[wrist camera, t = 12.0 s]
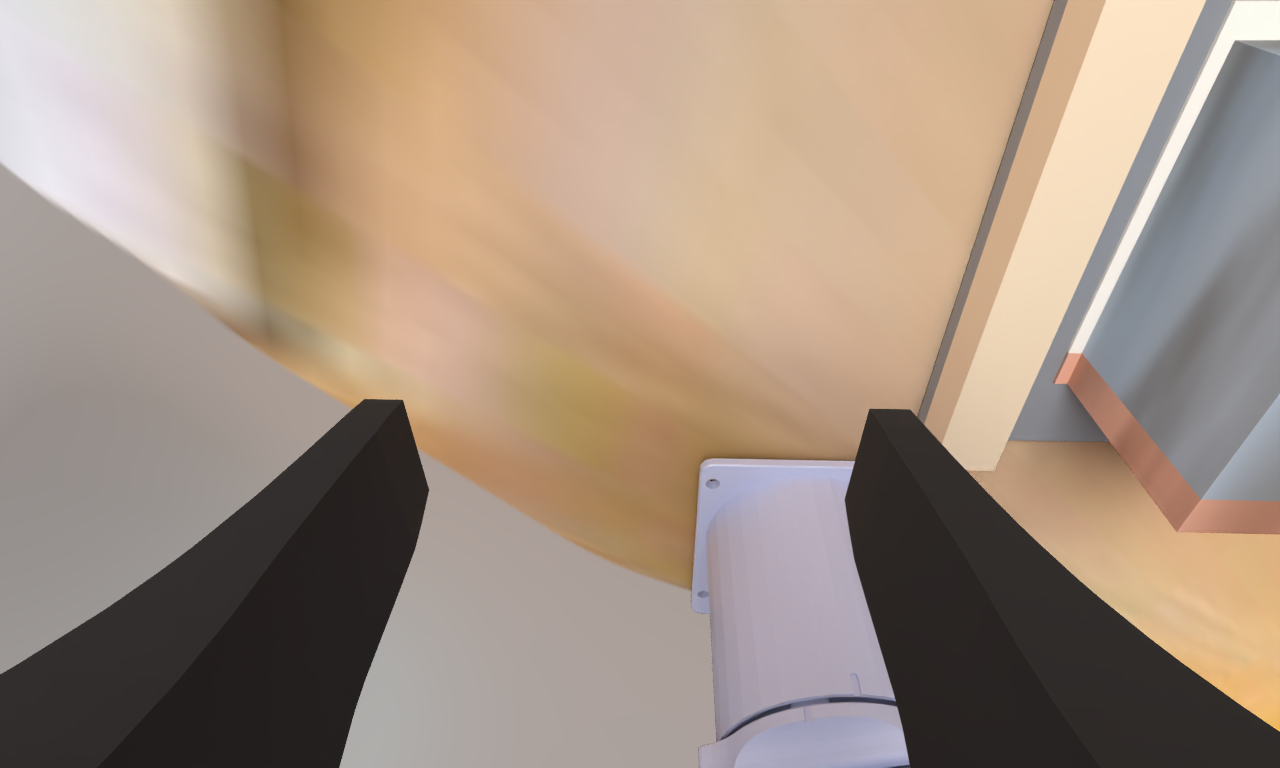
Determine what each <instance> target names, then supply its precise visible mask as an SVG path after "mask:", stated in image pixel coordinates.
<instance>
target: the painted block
mask: <svg viewBox="0 0 1280 768" xmlns="http://www.w3.org/2000/svg"><path fill="white" fill-rule="evenodd" d="M1067 384H1068V386H1069V387H1070V388H1071V390H1072V391H1073V392H1074V394H1075V395H1076V396H1077V398H1078V399H1079V400H1080V402H1081V403H1082V404H1083V406H1084V407H1085V409H1086V410H1087V411H1088V413H1089V414H1090V415H1091V417H1092V418H1093V419H1094V421H1095V422H1096V423H1097V425H1098V426H1099V428H1100V429H1101V430H1102V432H1103V433H1104V434H1105V436H1106V437H1107V438H1108V440H1109V441H1110V442H1111V444H1112V445H1113V446H1114V448H1115V449H1116V451H1117V452H1118V453H1119V455H1120V456H1121V457H1122V459H1123V460H1124V461H1125V463H1126V464H1127V465H1128V467H1129V468H1130V470H1131V471H1132V472H1133V474H1134V475H1135V476H1136V478H1137V479H1138V480H1139V482H1140V483H1141V484H1142V486H1143V487H1144V488H1145V490H1146V491H1147V493H1148V494H1149V495H1150V497H1151V498H1152V499H1153V501H1154V502H1155V503H1156V505H1157V506H1158V507H1159V509H1160V510H1161V511H1162V513H1163V514H1164V516H1165V517H1166V518H1167V520H1168V521H1169V522H1170V524H1171V525H1172V526H1173V528H1174V529H1175V530H1176V532H1197V533H1241V534H1280V40H1235V41H1234V43H1233V45H1232V47H1231V49H1230V51H1229V53H1228V55H1227V57H1226V59H1225V61H1224V63H1223V65H1222V67H1221V70H1220V72H1219V74H1218V76H1217V78H1216V80H1215V82H1214V84H1213V86H1212V88H1211V90H1210V92H1209V94H1208V96H1207V98H1206V100H1205V102H1204V104H1203V106H1202V108H1201V110H1200V113H1199V115H1198V117H1197V119H1196V121H1195V123H1194V125H1193V127H1192V129H1191V131H1190V133H1189V135H1188V137H1187V139H1186V141H1185V143H1184V145H1183V147H1182V149H1181V151H1180V153H1179V156H1178V158H1177V160H1176V162H1175V164H1174V166H1173V168H1172V170H1171V172H1170V174H1169V176H1168V178H1167V180H1166V182H1165V184H1164V186H1163V188H1162V190H1161V192H1160V194H1159V196H1158V199H1157V201H1156V203H1155V205H1154V207H1153V209H1152V211H1151V213H1150V215H1149V217H1148V219H1147V221H1146V223H1145V225H1144V227H1143V229H1142V231H1141V233H1140V235H1139V237H1138V239H1137V242H1136V244H1135V246H1134V248H1133V250H1132V252H1131V254H1130V256H1129V258H1128V260H1127V262H1126V264H1125V266H1124V268H1123V270H1122V272H1121V274H1120V276H1119V278H1118V280H1117V282H1116V285H1115V287H1114V289H1113V291H1112V293H1111V295H1110V297H1109V299H1108V301H1107V303H1106V305H1105V307H1104V309H1103V311H1102V313H1101V315H1100V317H1099V319H1098V321H1097V323H1096V325H1095V328H1094V330H1093V332H1092V334H1091V336H1090V338H1089V340H1088V342H1087V344H1086V346H1085V348H1084V350H1083V352H1082V354H1081V356H1080V358H1079V360H1078V362H1077V364H1076V366H1075V368H1074V371H1073V373H1072V375H1071V377H1070V379H1069V381H1068V383H1067Z"/></svg>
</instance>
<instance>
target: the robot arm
mask: <svg viewBox="0 0 1280 768" xmlns="http://www.w3.org/2000/svg"><path fill="white" fill-rule="evenodd" d="M711 479H715V480H716V481H709V480H711ZM428 492H429V488H428V485H427V481H426V478H425V474H424V471H423V468H422V464H421V461H420V458H419V454H418V450H417V447H416V443H415V440H414V437H413V433H412V430H411V426H410V423H409V419H408V416H407V412H406V409H405V406H404V402H403V400H377V399H364V400H363V401H362V402H361V403H359V404H358V405H357V406H356V407H355V408H354V409H352V410H351V411H350V412H349V413H348V414H347V415H346V416H345V417H344V418H342V419H341V420H340V421H339V422H338V423H337V424H336V425H335V426H334V427H333V428H331V429H330V430H329V431H328V432H327V433H326V434H325V435H324V436H323V437H321V438H320V439H319V440H318V441H317V442H316V443H315V444H314V445H313V446H312V447H310V448H309V449H308V450H307V451H306V452H305V453H304V454H303V455H302V456H301V457H299V458H298V459H297V460H296V461H295V462H294V463H293V464H291V465H290V466H289V467H288V468H287V469H286V470H285V471H283V472H282V473H281V474H280V475H279V476H278V477H277V478H276V479H274V480H273V481H272V482H271V483H270V484H269V485H268V486H267V487H265V488H264V489H263V490H262V491H261V492H260V493H258V494H257V495H256V496H255V497H254V498H253V499H251V500H250V501H249V502H248V503H246V504H245V505H244V506H243V507H241V508H240V509H239V510H238V511H236V512H235V513H234V514H233V515H232V516H230V517H229V518H228V519H227V520H225V521H224V522H223V523H222V524H220V525H219V526H218V527H217V528H216V529H215V530H213V531H212V532H211V533H209V534H208V535H207V536H206V537H204V538H203V539H202V540H201V541H200V542H198V543H197V544H196V545H195V546H193V547H192V548H191V549H189V550H188V551H187V552H185V553H184V554H183V555H181V556H180V557H179V558H177V559H176V560H175V561H173V562H172V563H171V564H169V565H168V566H167V567H166V568H164V569H162V570H161V571H160V572H158V573H157V574H156V575H154V576H153V577H151V578H150V579H148V580H147V581H146V582H144V583H143V584H141V585H140V586H139V587H137V588H136V589H134V590H133V591H131V592H130V593H128V594H127V595H126V596H124V597H123V598H122V599H120V600H118V601H117V602H115V603H114V604H112V605H111V606H110V607H108V608H107V609H105V610H104V611H102V612H100V613H99V614H97V615H96V616H94V617H92V618H91V619H89V620H88V621H86V622H85V623H83V624H81V625H80V626H78V627H77V628H75V629H73V630H72V631H70V632H69V633H67V634H65V635H64V636H62V637H61V638H59V639H58V640H56V641H54V642H53V643H51V644H50V645H48V646H46V647H45V648H43V649H41V650H40V651H38V652H37V653H35V654H33V655H32V656H30V657H29V658H27V659H26V660H24V661H22V662H21V663H19V664H17V665H16V666H14V667H13V668H11V669H9V670H7V671H6V672H4V673H2V674H0V768H339V766H340V762H341V759H342V755H343V751H344V748H345V744H346V740H347V737H348V733H349V730H350V726H351V722H352V718H353V715H354V712H355V708H356V705H357V702H358V699H359V696H360V694H361V691H362V688H363V684H364V682H365V679H366V676H367V673H368V671H369V668H370V666H371V663H372V661H373V658H374V656H375V653H376V650H377V648H378V645H379V643H380V640H381V637H382V635H383V632H384V630H385V627H386V624H387V622H388V619H389V617H390V614H391V611H392V609H393V606H394V604H395V601H396V598H397V596H398V593H399V590H400V588H401V585H402V583H403V580H404V577H405V574H406V572H407V569H408V567H409V564H410V561H411V558H412V556H413V553H414V550H415V547H416V543H417V539H418V535H419V531H420V527H421V524H422V519H423V514H424V510H425V505H426V501H427V496H428ZM691 608H692V610H694V611H695V612H697V613H701V614H710V624H711V645H712V663H713V683H714V703H715V723H716V742H715V743H712V744H707V745H702V746H700V747H699V748H698V753H699V768H1280V732H1279V731H1278V730H1276V729H1275V728H1273V727H1272V726H1270V725H1269V724H1267V723H1266V722H1264V721H1263V720H1262V719H1260V718H1259V717H1257V716H1256V715H1254V714H1253V713H1251V712H1250V711H1248V710H1247V709H1245V708H1244V707H1242V706H1241V705H1240V704H1238V703H1237V702H1235V701H1234V700H1233V699H1231V698H1230V697H1228V696H1227V695H1226V694H1224V693H1223V692H1222V691H1220V690H1219V689H1217V688H1216V687H1215V686H1213V685H1212V684H1210V683H1209V682H1208V681H1206V680H1205V679H1203V678H1202V677H1201V676H1199V675H1198V674H1197V673H1195V672H1194V671H1192V670H1191V669H1190V668H1188V667H1187V666H1185V665H1184V664H1183V663H1181V662H1180V661H1179V660H1177V659H1176V658H1175V657H1173V656H1172V655H1171V654H1169V653H1168V652H1167V651H1165V650H1164V649H1163V648H1162V647H1160V646H1159V645H1158V644H1156V643H1155V642H1154V641H1152V640H1151V639H1150V638H1149V637H1147V636H1146V635H1145V634H1144V633H1142V632H1141V631H1140V630H1139V629H1137V628H1136V627H1135V626H1134V625H1132V624H1131V623H1130V622H1129V621H1128V620H1126V619H1125V618H1124V617H1123V616H1121V615H1120V614H1119V613H1118V612H1116V611H1115V610H1114V609H1113V608H1111V607H1110V606H1109V605H1108V604H1107V603H1105V602H1104V601H1103V600H1102V599H1100V598H1099V597H1098V596H1097V595H1096V594H1094V593H1093V592H1092V591H1091V590H1090V589H1089V588H1088V587H1086V586H1085V585H1084V584H1083V583H1082V582H1081V581H1079V580H1078V579H1077V578H1076V577H1075V576H1074V575H1073V574H1071V573H1070V572H1069V571H1068V570H1067V569H1066V568H1065V567H1064V566H1063V565H1062V564H1061V563H1060V562H1058V561H1057V560H1056V559H1055V558H1054V557H1053V556H1052V555H1051V554H1050V553H1049V552H1048V551H1046V550H1045V549H1044V548H1043V547H1042V546H1041V545H1040V544H1039V543H1038V542H1037V541H1036V540H1035V539H1033V538H1032V537H1031V536H1030V535H1029V534H1028V533H1027V532H1026V531H1025V530H1024V529H1023V528H1022V527H1021V526H1020V525H1019V524H1018V523H1017V522H1016V521H1015V520H1014V519H1013V518H1012V517H1011V516H1010V515H1009V514H1008V513H1007V512H1006V511H1005V510H1004V509H1003V508H1002V507H1001V506H1000V505H999V504H998V503H997V502H996V501H995V500H994V499H993V498H992V497H991V496H990V495H989V494H988V493H987V492H986V491H985V490H984V489H983V488H982V487H981V486H980V484H979V483H978V482H977V481H976V480H975V479H974V478H973V477H972V476H971V475H970V474H969V473H968V472H967V471H966V470H965V469H964V467H963V466H962V465H961V464H960V463H959V462H958V461H957V460H956V459H955V458H954V457H953V456H952V455H951V454H950V452H949V451H948V450H947V449H946V448H945V447H944V446H943V445H942V444H941V443H940V442H939V440H938V439H937V438H936V437H935V436H934V435H933V434H932V433H931V432H930V431H929V429H928V428H927V427H926V426H925V425H924V424H923V423H922V422H921V421H920V420H919V419H918V418H917V417H916V415H915V414H914V413H913V412H912V411H911V410H901V409H869V413H868V416H867V420H866V424H865V427H864V431H863V434H862V438H861V442H860V445H859V449H858V452H857V456H856V460H855V461H826V460H775V459H724V458H712V459H708V460H705V461H704V462H703V463H702V464H701V466H700V472H699V487H698V502H697V517H696V532H695V547H694V562H693V576H692V591H691Z"/></svg>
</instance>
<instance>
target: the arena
mask: <svg viewBox="0 0 1280 768" xmlns="http://www.w3.org/2000/svg"><path fill="white" fill-rule="evenodd" d="M1235 40H1280V0H1055V1H1054V4H1053V7H1052V10H1051V13H1050V16H1049V19H1048V22H1047V25H1046V28H1045V31H1044V34H1043V37H1042V40H1041V43H1040V46H1039V49H1038V53H1037V56H1036V59H1035V62H1034V65H1033V68H1032V71H1031V74H1030V77H1029V80H1028V83H1027V86H1026V89H1025V92H1024V95H1023V98H1022V101H1021V104H1020V107H1019V110H1018V113H1017V116H1016V119H1015V123H1014V126H1013V129H1012V132H1011V135H1010V138H1009V141H1008V144H1007V147H1006V150H1005V153H1004V156H1003V159H1002V162H1001V165H1000V168H999V171H998V174H997V177H996V180H995V183H994V186H993V190H992V193H991V196H990V199H989V202H988V205H987V208H986V211H985V214H984V217H983V220H982V223H981V226H980V229H979V232H978V235H977V238H976V241H975V244H974V247H973V250H972V253H971V256H970V260H969V263H968V266H967V269H966V272H965V275H964V278H963V281H962V284H961V287H960V290H959V293H958V296H957V299H956V302H955V305H954V308H953V311H952V314H951V317H950V320H949V323H948V326H947V330H946V333H945V336H944V339H943V342H942V345H941V348H940V351H939V354H938V357H937V360H936V363H935V366H934V369H933V372H932V375H931V378H930V381H929V384H928V387H927V390H926V393H925V396H924V400H923V403H922V406H921V409H920V412H919V415H918V419H919V420H920V421H921V422H922V423H923V424H924V425H925V426H926V427H927V428H928V429H929V431H930V432H931V433H932V434H933V435H934V436H935V437H936V438H937V439H938V440H939V442H940V443H941V444H942V445H943V446H944V447H945V448H946V449H947V450H948V451H949V452H950V454H951V455H952V456H953V457H954V458H955V459H956V460H957V461H958V462H959V463H960V464H961V465H962V466H963V467H964V469H965V470H973V471H994V470H995V468H996V465H997V463H998V461H999V459H1000V456H1001V454H1002V452H1003V450H1004V448H1005V445H1006V443H1007V441H1008V440H1025V441H1079V442H1110V441H1109V440H1108V438H1107V437H1106V436H1105V434H1104V433H1103V432H1102V430H1101V429H1100V428H1099V426H1098V425H1097V423H1096V422H1095V421H1094V419H1093V418H1092V417H1091V415H1090V414H1089V413H1088V411H1087V410H1086V409H1085V407H1084V406H1083V404H1082V403H1081V402H1080V400H1079V399H1078V398H1077V396H1076V395H1075V394H1074V392H1073V391H1072V390H1071V388H1070V387H1069V386H1068V384H1067V383H1068V381H1069V379H1070V377H1071V375H1072V373H1073V371H1074V368H1075V366H1076V364H1077V362H1078V360H1079V358H1080V356H1081V354H1082V352H1083V350H1084V348H1085V346H1086V344H1087V342H1088V340H1089V338H1090V336H1091V334H1092V332H1093V330H1094V328H1095V325H1096V323H1097V321H1098V319H1099V317H1100V315H1101V313H1102V311H1103V309H1104V307H1105V305H1106V303H1107V301H1108V299H1109V297H1110V295H1111V293H1112V291H1113V289H1114V287H1115V285H1116V282H1117V280H1118V278H1119V276H1120V274H1121V272H1122V270H1123V268H1124V266H1125V264H1126V262H1127V260H1128V258H1129V256H1130V254H1131V252H1132V250H1133V248H1134V246H1135V244H1136V242H1137V239H1138V237H1139V235H1140V233H1141V231H1142V229H1143V227H1144V225H1145V223H1146V221H1147V219H1148V217H1149V215H1150V213H1151V211H1152V209H1153V207H1154V205H1155V203H1156V201H1157V199H1158V196H1159V194H1160V192H1161V190H1162V188H1163V186H1164V184H1165V182H1166V180H1167V178H1168V176H1169V174H1170V172H1171V170H1172V168H1173V166H1174V164H1175V162H1176V160H1177V158H1178V156H1179V153H1180V151H1181V149H1182V147H1183V145H1184V143H1185V141H1186V139H1187V137H1188V135H1189V133H1190V131H1191V129H1192V127H1193V125H1194V123H1195V121H1196V119H1197V117H1198V115H1199V113H1200V110H1201V108H1202V106H1203V104H1204V102H1205V100H1206V98H1207V96H1208V94H1209V92H1210V90H1211V88H1212V86H1213V84H1214V82H1215V80H1216V78H1217V76H1218V74H1219V72H1220V70H1221V67H1222V65H1223V63H1224V61H1225V59H1226V57H1227V55H1228V53H1229V51H1230V49H1231V47H1232V45H1233V43H1234V41H1235Z"/></svg>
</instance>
